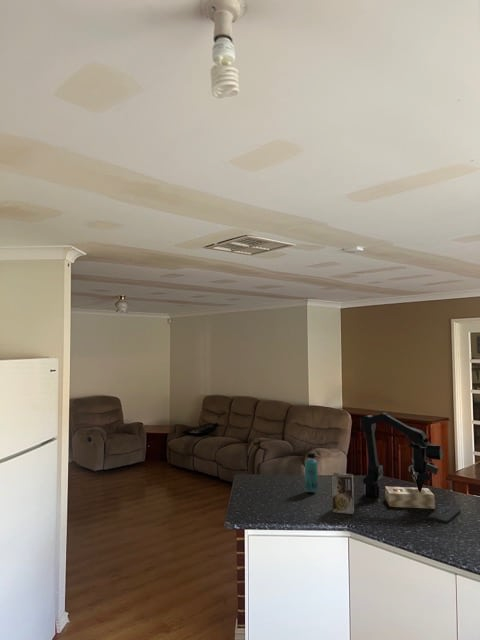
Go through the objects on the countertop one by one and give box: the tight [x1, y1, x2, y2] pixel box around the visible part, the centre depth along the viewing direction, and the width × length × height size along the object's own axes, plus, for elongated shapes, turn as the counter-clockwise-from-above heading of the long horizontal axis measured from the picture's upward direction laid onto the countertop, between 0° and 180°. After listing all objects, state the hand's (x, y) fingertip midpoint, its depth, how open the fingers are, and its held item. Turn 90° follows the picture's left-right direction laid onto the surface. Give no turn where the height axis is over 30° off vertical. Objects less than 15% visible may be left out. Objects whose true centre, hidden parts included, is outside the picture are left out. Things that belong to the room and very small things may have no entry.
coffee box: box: [331, 472, 355, 515], centre depth 211 cm, size 9×6×16 cm
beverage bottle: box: [304, 452, 318, 492], centre depth 240 cm, size 6×7×20 cm
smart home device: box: [427, 505, 461, 524], centre depth 205 cm, size 8×2×20 cm
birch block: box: [384, 485, 436, 510], centre depth 222 cm, size 20×12×6 cm, turn 82°
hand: (419, 491), depth 222 cm, fingers closed, pressing on steel peg
